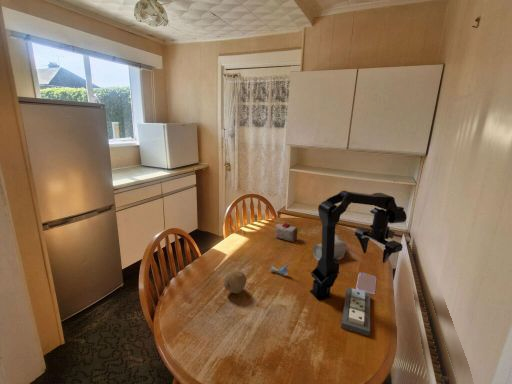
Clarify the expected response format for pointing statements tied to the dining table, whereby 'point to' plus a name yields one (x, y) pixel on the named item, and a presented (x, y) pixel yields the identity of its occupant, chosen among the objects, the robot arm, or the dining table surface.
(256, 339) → the dining table surface
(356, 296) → the one dot key
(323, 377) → the dining table surface
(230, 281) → the natural sponge
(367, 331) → the grey flat block
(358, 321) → the two dot key
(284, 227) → the white box
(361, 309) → the three dot key
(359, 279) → the mobile phone
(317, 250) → the elbow connector
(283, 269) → the dinosaur figurine
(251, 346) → the dining table surface
